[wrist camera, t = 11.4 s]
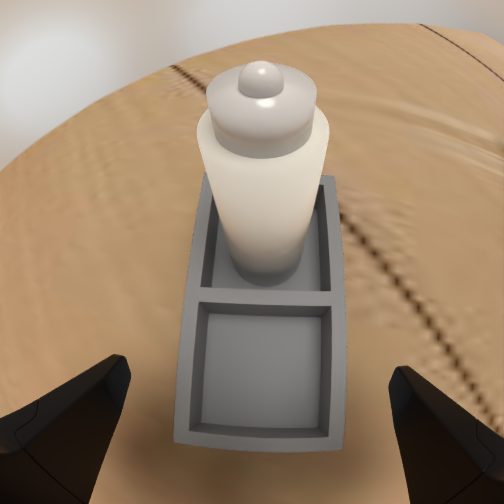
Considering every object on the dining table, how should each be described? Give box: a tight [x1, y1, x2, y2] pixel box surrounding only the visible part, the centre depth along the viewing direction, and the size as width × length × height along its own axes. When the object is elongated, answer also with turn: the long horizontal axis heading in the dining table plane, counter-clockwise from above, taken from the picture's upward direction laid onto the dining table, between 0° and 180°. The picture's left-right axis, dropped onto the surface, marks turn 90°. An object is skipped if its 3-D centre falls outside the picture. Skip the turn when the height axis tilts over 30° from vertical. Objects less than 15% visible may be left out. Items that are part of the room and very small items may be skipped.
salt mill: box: [197, 61, 329, 287], centre depth 13 cm, size 5×5×14 cm
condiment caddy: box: [173, 173, 347, 453], centre depth 17 cm, size 16×9×4 cm, turn 177°
